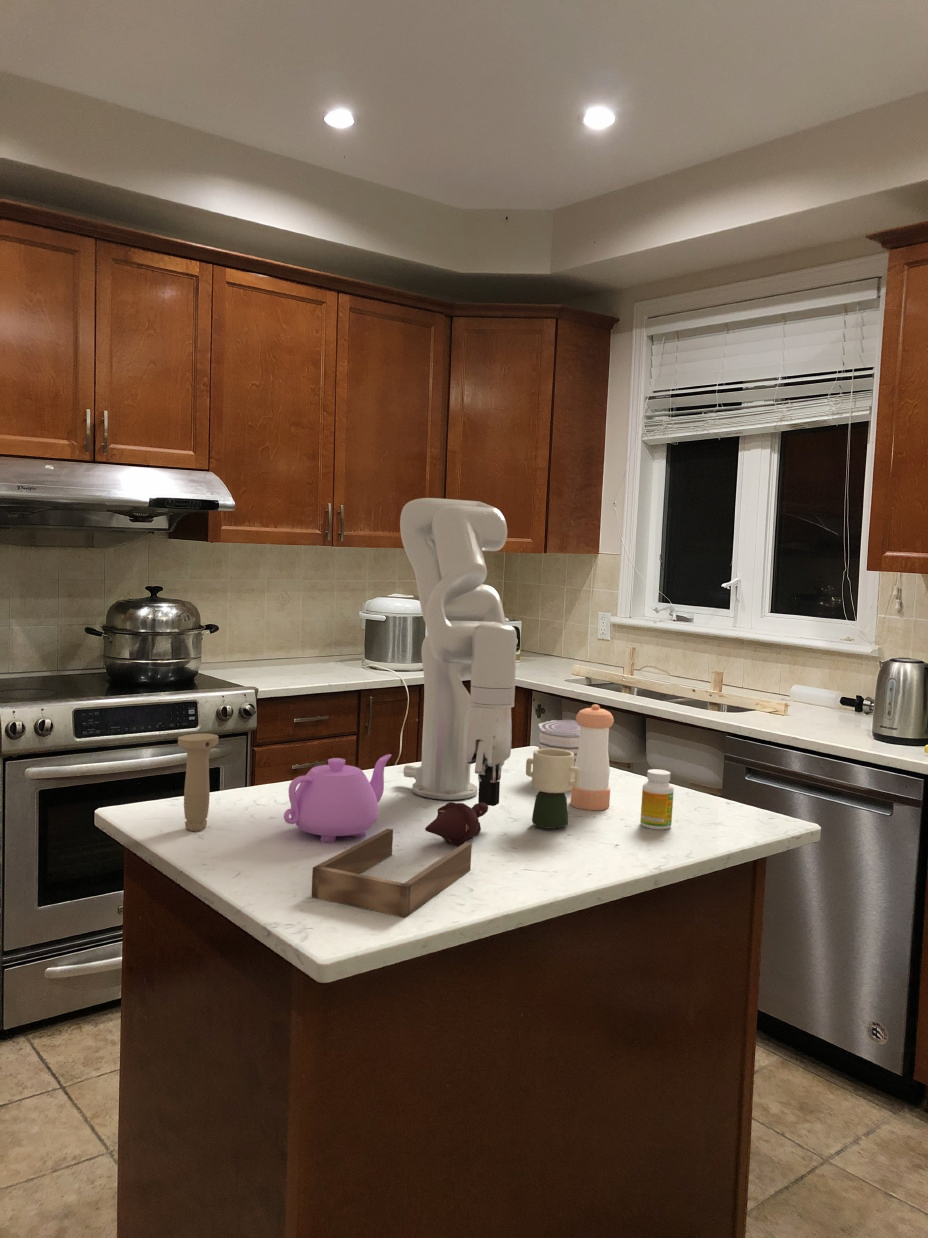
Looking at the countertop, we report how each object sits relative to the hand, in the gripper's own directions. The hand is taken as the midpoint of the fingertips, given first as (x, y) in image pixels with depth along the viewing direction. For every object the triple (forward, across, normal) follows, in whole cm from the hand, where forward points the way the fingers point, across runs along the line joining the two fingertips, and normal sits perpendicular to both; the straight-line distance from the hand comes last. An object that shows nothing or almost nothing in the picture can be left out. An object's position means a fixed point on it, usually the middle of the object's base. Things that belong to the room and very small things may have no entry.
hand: (488, 804), depth 163 cm
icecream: (+4, +12, -1) cm, 12 cm away
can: (+3, -39, +1) cm, 39 cm away
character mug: (+4, -6, +9) cm, 12 cm away
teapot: (+4, +16, -20) cm, 26 cm away
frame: (+5, +33, -1) cm, 33 cm away
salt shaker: (+4, -24, +11) cm, 27 cm away
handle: (+4, +27, -40) cm, 48 cm away
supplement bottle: (+4, -17, +25) cm, 31 cm away
